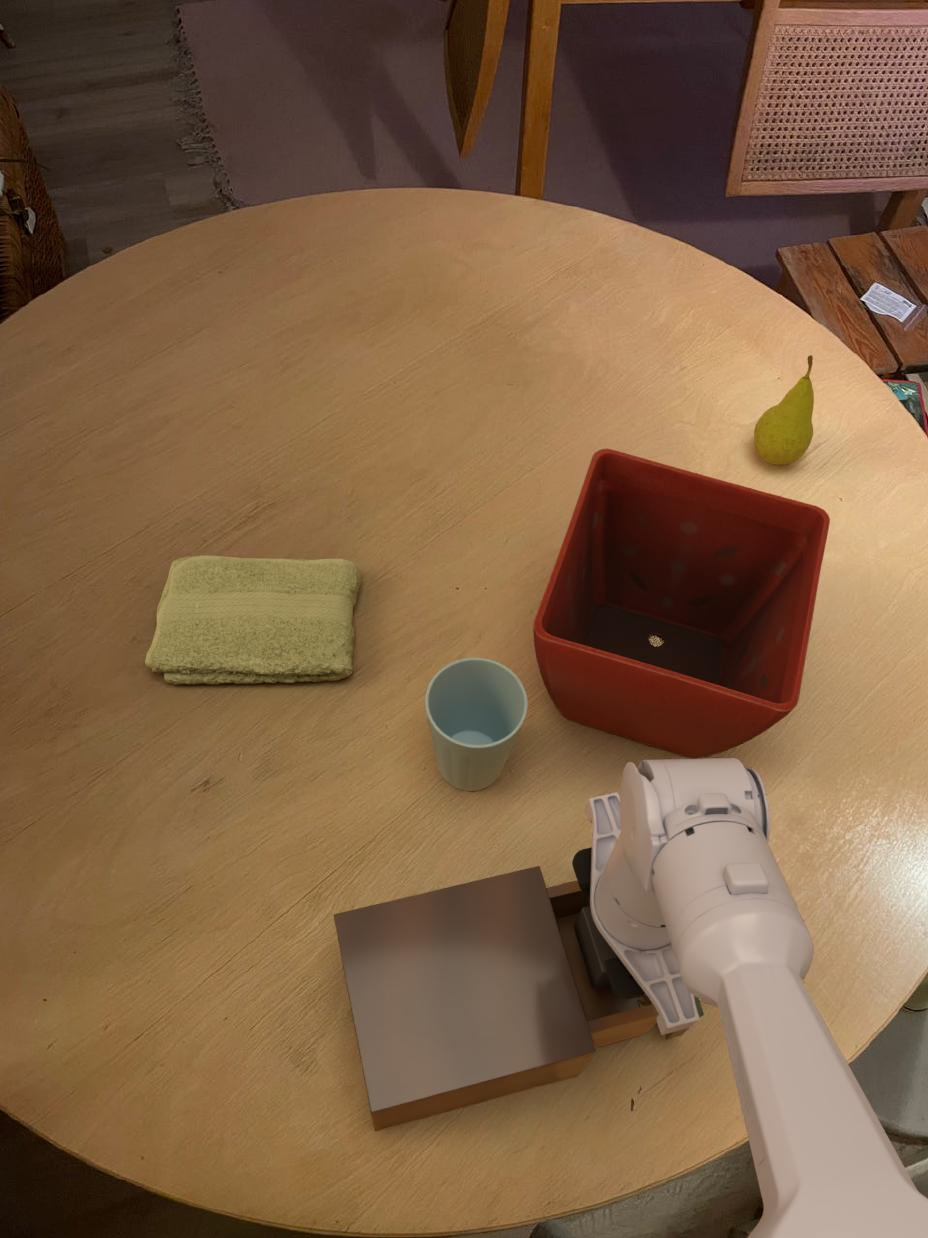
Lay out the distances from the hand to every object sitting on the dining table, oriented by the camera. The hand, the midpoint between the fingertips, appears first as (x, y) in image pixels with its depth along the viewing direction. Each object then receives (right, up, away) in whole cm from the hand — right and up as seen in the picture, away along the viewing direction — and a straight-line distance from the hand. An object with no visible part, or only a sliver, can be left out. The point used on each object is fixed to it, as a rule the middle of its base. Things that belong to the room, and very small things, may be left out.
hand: (616, 945), depth 71 cm
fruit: (+21, +39, +36) cm, 57 cm away
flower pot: (+6, +17, +20) cm, 27 cm away
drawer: (-1, -4, +5) cm, 7 cm away
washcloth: (-29, +21, +22) cm, 42 cm away
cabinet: (-11, -6, +4) cm, 13 cm away
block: (0, -1, +1) cm, 1 cm away
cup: (-10, +10, +15) cm, 21 cm away
